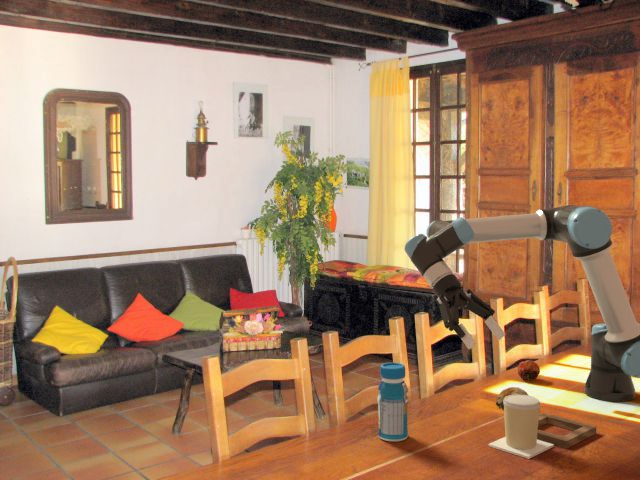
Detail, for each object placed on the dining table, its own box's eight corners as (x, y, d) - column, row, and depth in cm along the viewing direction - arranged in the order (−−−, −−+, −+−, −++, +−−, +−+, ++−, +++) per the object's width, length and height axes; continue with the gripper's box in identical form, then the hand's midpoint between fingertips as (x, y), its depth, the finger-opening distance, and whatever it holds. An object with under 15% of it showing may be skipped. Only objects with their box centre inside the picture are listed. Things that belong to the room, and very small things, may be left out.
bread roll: (525, 424, 220) (537, 401, 219) (493, 408, 222) (505, 386, 220) (522, 414, 230) (534, 392, 229) (492, 398, 231) (504, 376, 230)
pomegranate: (540, 389, 251) (542, 366, 257) (537, 376, 246) (538, 352, 253) (518, 389, 254) (520, 366, 261) (514, 376, 249) (516, 353, 256)
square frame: (544, 419, 214) (544, 412, 214) (596, 433, 202) (596, 426, 202) (513, 433, 203) (513, 426, 203) (566, 448, 191) (566, 441, 191)
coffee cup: (540, 439, 196) (541, 395, 195) (538, 452, 187) (539, 406, 186) (504, 435, 199) (505, 392, 198) (500, 448, 191) (501, 403, 189)
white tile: (514, 434, 202) (514, 432, 202) (553, 446, 193) (553, 444, 193) (488, 446, 194) (488, 443, 194) (528, 459, 185) (528, 456, 185)
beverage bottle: (388, 444, 196) (388, 371, 194) (371, 434, 203) (371, 363, 201) (414, 439, 199) (414, 366, 198) (397, 429, 207) (397, 359, 205)
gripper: (462, 284, 219) (505, 341, 209) (406, 295, 202) (451, 358, 193) (476, 268, 215) (521, 325, 205) (421, 278, 198) (467, 341, 188)
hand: (487, 341), depth 199 cm, fingers open, 13 cm apart
